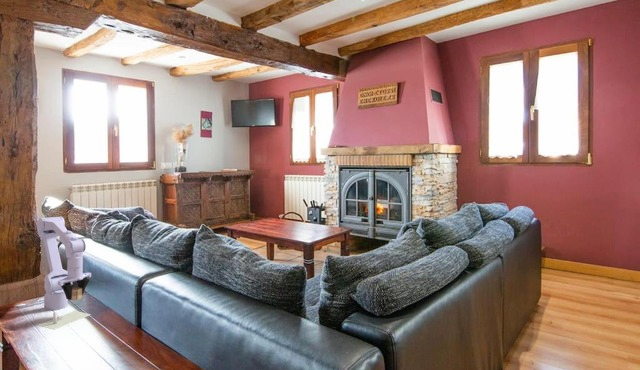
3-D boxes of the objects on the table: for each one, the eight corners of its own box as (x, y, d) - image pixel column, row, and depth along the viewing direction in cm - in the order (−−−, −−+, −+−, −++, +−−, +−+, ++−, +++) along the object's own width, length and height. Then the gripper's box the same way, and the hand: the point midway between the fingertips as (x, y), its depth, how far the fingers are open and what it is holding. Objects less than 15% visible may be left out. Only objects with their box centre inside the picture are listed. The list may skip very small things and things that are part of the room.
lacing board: (37, 327, 161) (37, 313, 161) (74, 313, 177) (75, 300, 177) (54, 332, 158) (54, 317, 158) (91, 317, 174) (91, 304, 174)
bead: (65, 299, 170) (65, 290, 169) (76, 295, 175) (76, 286, 174) (73, 301, 168) (73, 292, 168) (84, 297, 173) (84, 288, 173)
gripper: (66, 272, 162) (65, 303, 163) (96, 264, 176) (96, 293, 177) (54, 270, 165) (54, 301, 165) (84, 262, 178) (84, 291, 179)
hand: (74, 297), depth 171 cm, fingers closed on bead, 5 cm apart
